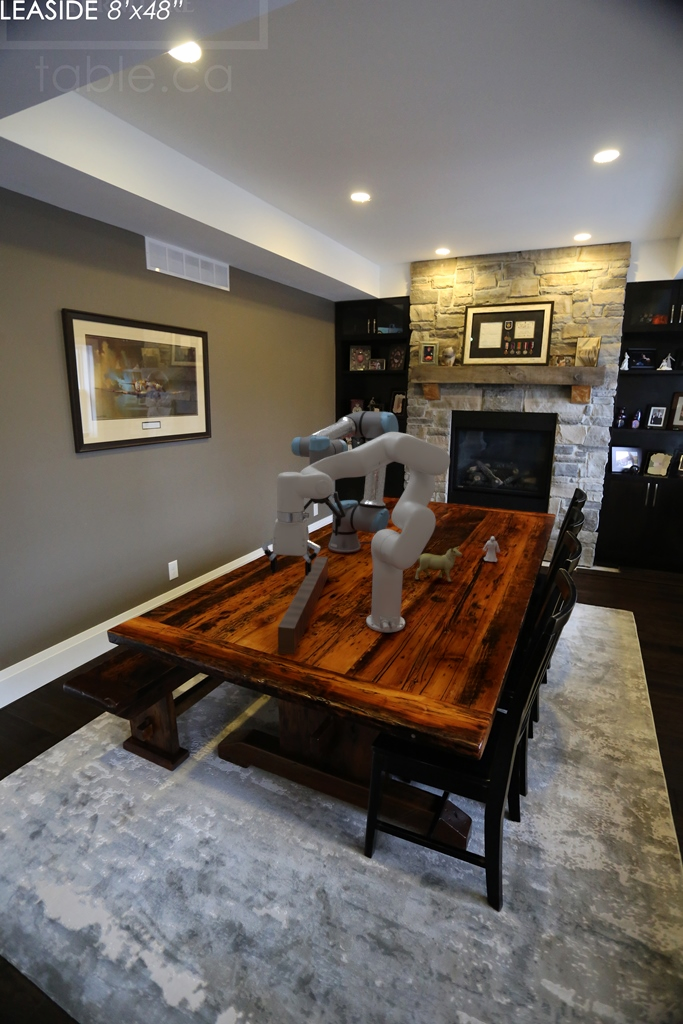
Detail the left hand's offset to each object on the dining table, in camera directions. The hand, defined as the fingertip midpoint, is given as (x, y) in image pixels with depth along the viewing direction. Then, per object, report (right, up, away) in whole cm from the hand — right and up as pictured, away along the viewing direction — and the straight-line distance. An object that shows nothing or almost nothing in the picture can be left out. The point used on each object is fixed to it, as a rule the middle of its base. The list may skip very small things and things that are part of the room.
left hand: (318, 533), depth 190 cm
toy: (+47, -19, +11) cm, 52 cm away
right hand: (-6, -9, -45) cm, 46 cm away
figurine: (+76, -14, +35) cm, 85 cm away
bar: (-3, -25, -17) cm, 31 cm away
